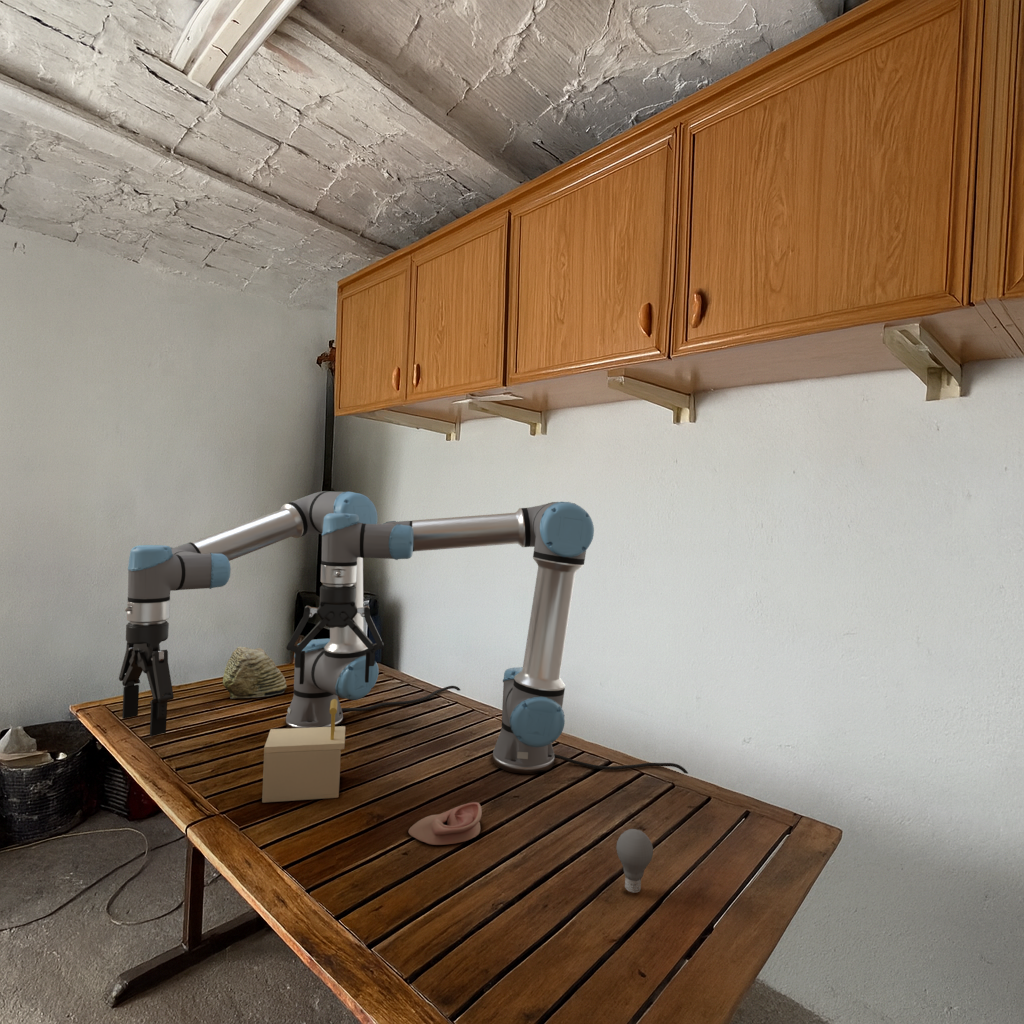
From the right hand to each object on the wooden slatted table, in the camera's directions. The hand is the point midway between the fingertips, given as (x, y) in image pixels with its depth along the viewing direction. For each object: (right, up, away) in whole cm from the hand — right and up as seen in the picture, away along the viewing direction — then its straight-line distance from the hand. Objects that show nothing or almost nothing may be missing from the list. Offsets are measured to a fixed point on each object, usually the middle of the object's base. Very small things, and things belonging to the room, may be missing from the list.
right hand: (334, 681), depth 138 cm
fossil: (-42, -20, +60) cm, 76 cm away
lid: (-6, -13, -1) cm, 14 cm away
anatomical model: (+26, -25, -16) cm, 39 cm away
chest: (-7, -23, -1) cm, 24 cm away
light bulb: (+59, -26, -32) cm, 72 cm away
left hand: (-36, -7, -9) cm, 38 cm away
